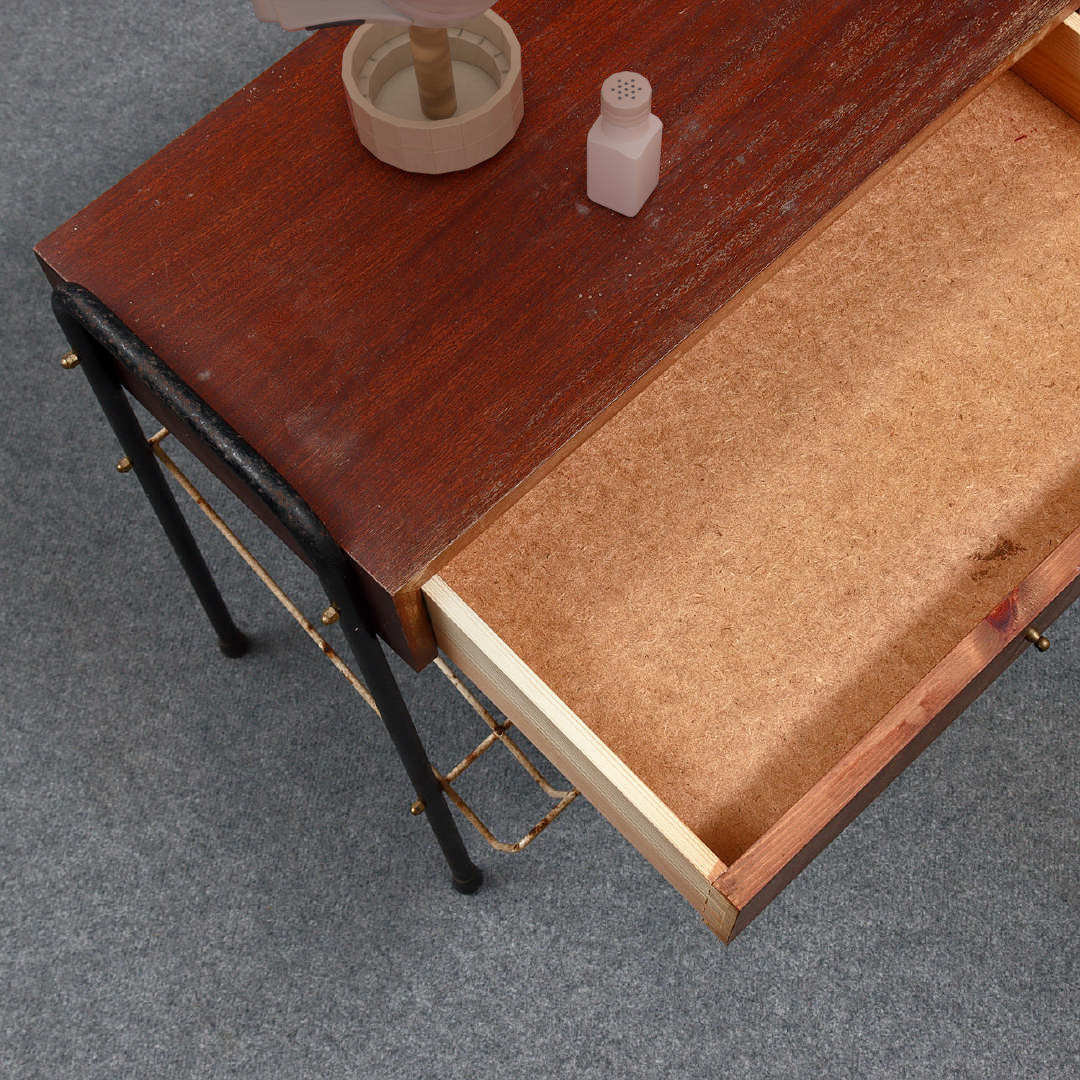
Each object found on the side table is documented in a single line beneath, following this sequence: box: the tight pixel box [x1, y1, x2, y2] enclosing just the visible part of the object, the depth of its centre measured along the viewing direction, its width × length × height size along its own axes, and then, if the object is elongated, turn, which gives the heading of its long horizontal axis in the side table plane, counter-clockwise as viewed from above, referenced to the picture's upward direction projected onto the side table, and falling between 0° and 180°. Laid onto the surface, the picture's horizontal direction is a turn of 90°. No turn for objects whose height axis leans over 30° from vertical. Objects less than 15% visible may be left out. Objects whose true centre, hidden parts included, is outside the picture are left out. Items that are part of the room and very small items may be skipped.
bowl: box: [340, 7, 525, 175], centre depth 90 cm, size 12×13×5 cm
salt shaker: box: [586, 70, 664, 218], centre depth 84 cm, size 4×4×10 cm
